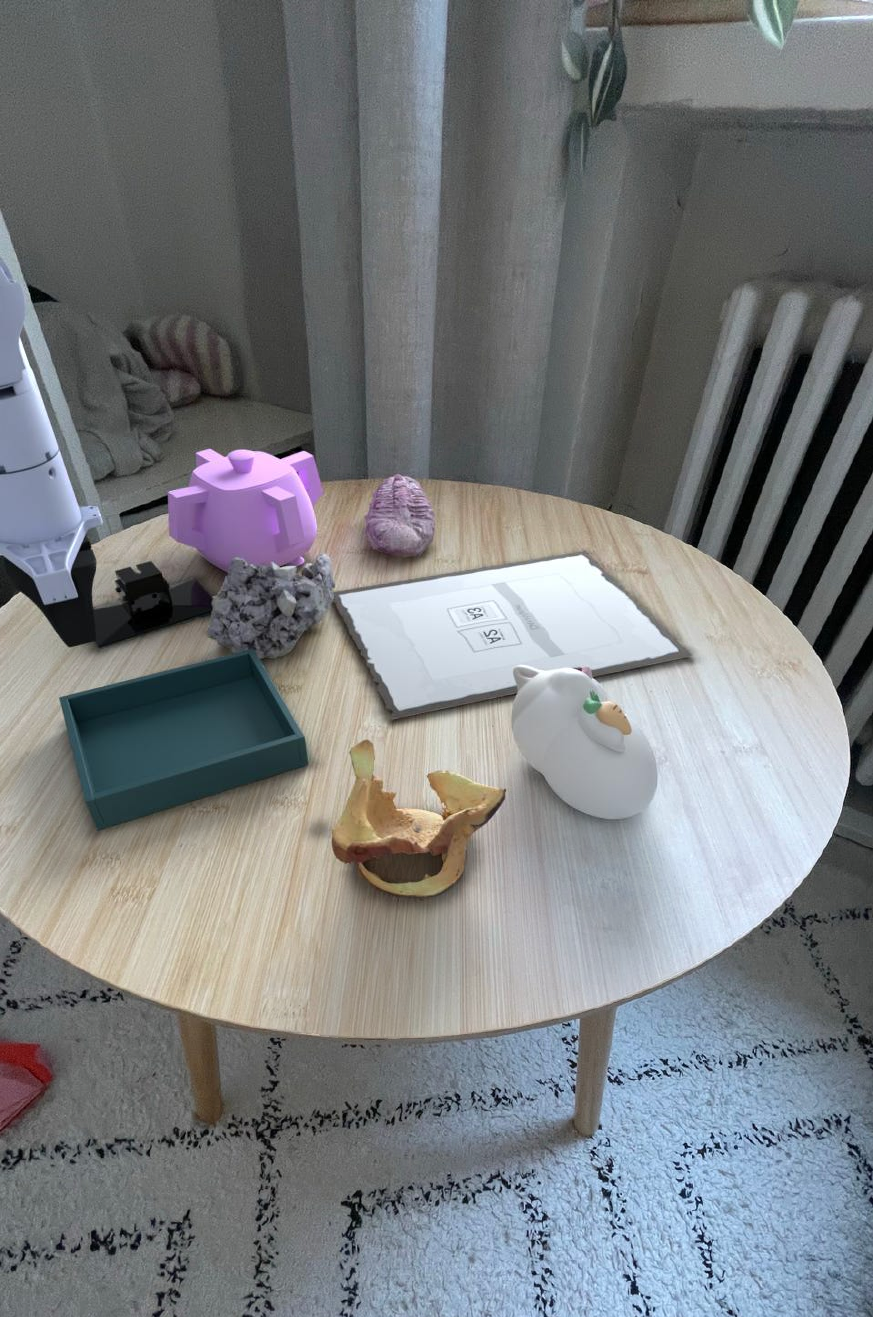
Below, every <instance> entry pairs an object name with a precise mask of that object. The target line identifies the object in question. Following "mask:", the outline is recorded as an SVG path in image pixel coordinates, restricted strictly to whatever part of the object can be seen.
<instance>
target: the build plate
mask: <svg viewBox="0 0 873 1317" xmlns="http://www.w3.org/2000/svg"><path fill="white" fill-rule="evenodd" d="M135 566H136V570H137V571H138V572H139V573H137V572H135V570H134V569H133V568H132V567H131V566H127V567H123V568H121V569H117V570H114V573H115V576H116V579H115V580H114V583H115V588H114V590H115V592H116V593H117V594H118V597H119V599H118V600H115V601H111V602H107V603H104V604H101V605H97V606H93V609H94V615H95V622H96V630H97V640H96V641H95V642H93V643H94V644H95V646H96V648H97V649H99V650H101V649H104V648H107V647H110V646H114V645H117V644H120V643H123V642H127V641H130V640H133V639H136V638H139V637H142V636H145V635H148V634H152V633H155V632H158V631H160V630H164V629H167V628H171V627H174V626H177V625H179V624H183V623H186V622H189V621H193V620H195V619H203V618H206V617H211V613H212V610H213V606H212V600H213V599H212V596H211V595H210V594H209V593H208V591H207V590H206V589H205V587H203V586H202V585H201V584H200V583H199V582H198V581H197V580H196V579H195V578H189V579H186V580H182V581H180V582H176V583H172V584H170V583H169V582H168V581H167V579H166V578H165V576H163V572H162V571H161V570H160V569H159V568H158V566H156V564H154V563H153V561H152V560H149V561H146V562H145V561H144V562H142V563H137V564H136V565H135Z"/></svg>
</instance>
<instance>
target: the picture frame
mask: <svg viewBox="0 0 873 1317" xmlns="http://www.w3.org/2000/svg"><path fill="white" fill-rule="evenodd" d="M333 592H334V598H333V600H332V602H333V604H334V605H335V608H336V610H337V611H338V613H339V616H341V618H342V619H343V623H345V625H346V629H347V630H348V634H349V636H350V637H352V641H353V642H354V643H355V645H356V647H357V650H358V651H359V652H360V653H359V656H361V657H362V658H364V660H365V662H366V663H365V666H364V667H366V668H367V669H368V670H369V671H370V675H371V676H372V677H373V678H372V682H373V683H375V684H378V686H377V689H378V694H379V696H381V699H382V700H383V702H384V705H385V707H386V710H388V711H392V714H391V715H390V717H391V720H396V719H401V718H405V717H410V716H414V715H420V714H424V713H429V712H435V711H438V710H443V709H447V708H452V707H457V706H461V705H466V704H472V703H476V702H477V703H478V702H481V701H485V700H491V699H496V698H500V697H504V696H508V695H514V694H517V693H518V690H517V685H516V682H515V679H514V675H513V670H514V668H515V667H516V666H517V665H527V666H530V667H532V668H535V669H538V670H542V671H550V670H556V669H562V668H573V667H576V666H578V667H581V668H583V667H584V666H588V667H589V668H590V669H591V672H592V678H595V677H598V676H603V675H609V674H613V673H618V672H622V671H627V670H632V669H636V668H642V667H646V666H650V665H656V664H660V663H665V662H669V661H674V660H678V659H679V660H680V659H684V658H689V657H694V655H693V654H692V653H691V652H690V651H689V650H688V649H687V648H686V647H685V646H683V645H682V644H681V643H680V642H679V641H678V640H677V638H675V636H673V635H672V634H671V632H670V631H669V630H668V629H667V628H666V627H664V625H662V624H661V623H660V622H659V621H658V620H657V619H656V618H655V617H653V615H652V614H651V613H650V612H649V611H647V609H646V608H645V607H644V606H643V605H642V604H640V603H638V600H637V599H636V598H634V597H633V595H630V594H629V591H627V590H626V589H625V588H624V587H623V586H622V585H621V584H619V582H618V581H617V580H616V579H615V578H614V577H613V576H612V575H611V574H610V573H609V572H608V571H606V570H605V569H604V567H603V566H601V564H599V562H597V561H596V559H594V558H593V557H592V556H591V555H590V554H589V552H587V551H586V550H584V551H576V552H569V553H564V554H557V555H552V556H545V557H541V558H533V559H528V560H521V561H515V562H509V563H503V564H496V565H491V566H485V567H479V568H472V569H465V570H459V571H454V572H453V571H452V572H448V573H441V574H435V575H429V576H423V577H418V578H417V577H416V578H410V579H403V580H398V581H391V582H387V583H379V584H374V585H368V586H367V585H366V586H361V587H355V588H349V589H343V590H335V591H333Z"/></svg>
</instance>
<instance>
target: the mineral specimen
mask: <svg viewBox="0 0 873 1317" xmlns="http://www.w3.org/2000/svg"><path fill="white" fill-rule="evenodd" d="M331 563H332V562H331V558H330V556H328V554H327V553H326V552H323V553H321V554H319V555H317V556H316V557H315V562H314V563H311V562H307V563H306V564H305V565H304V566H303V567H302V568H301V571H300V574H299V573H298V572H297V568H298V566H287V565H285V566H282V567H281V566H277V565H276V564H275V563H273V562H270V564H269V565H268V566H264V565H262V564H260V565H259V566H258V565H254V564H250V565H249V563H248V562H246V561H245V560H244V559H242V558H238V557H235V558H233V559H232V562H231V567H230V569H229V571H228V572H227V575H225V577H224V581H223V582H222V583H223V584H222V586H221V587H220V588H219V592H217V594H216V595H212V596H211V597H212V599H213V600H212V606H213V610H212V613H211V615H210V620H209V621H210V622H209V626H208V628H206V630H204V631H203V633H205V636H207V637H208V638H209V639H212V640H215V641H216V643H217V644H218V645H220V646H223V647H226V648H228V649H229V650H230V651H232V652H233V654H234V653H238V652H242V651H246V650H250V649H254V651H255V652H256V654H257V656H258V657H259V659H260V660H263V659H265V658H269V659H270V658H271V659H277V658H278V657H281V658H282V657H284V656H286V655H288V654H289V653H290V652H292V651H293V650H294V649H295V646H296V644H297V642H298V641H299V639H300V638H301V636H302V635H303V634H304V632H305V631H306V630H307V629H313V628H315V626H316V625H317V623H319V622H320V621H322V620H323V619H324V618H325V616H326V614H327V613H328V611H329V610H330V608H331V606H332V604H333V599H334V592H335V591H333V589H335V588H336V583H335V580H334V573H333V570H332V569H331V568H332V565H331Z"/></svg>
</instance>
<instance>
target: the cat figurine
mask: <svg viewBox="0 0 873 1317" xmlns="http://www.w3.org/2000/svg"><path fill="white" fill-rule="evenodd" d="M513 675H514V679H515V682H516V685H517V690H518V693H516V695H515V698H514V701H513V704H512V709H511V716H510V724H511V731H512V732H511V733H512V736H513V739H514V741H515V744H516V745H517V746H516V747H517V748H518V750H519V751H520V753H521V755H522V756H523V758H524V759H525V761H526V762H527V763H528V764H529V765H530V766H531V768H533V769H534V770H535V771H537V772H539V773H540V774H541V775H543V777H544V779H545V780H546V782H547V784H548V785H549V787H550V788H551V789H552V790H553V792H554V793H555V794H556V795H557V797H559V798H560V799H561V800H562V801H563V802H565V803H566V804H567V805H569V806H570V807H571V808H574V809H575V810H577V811H579V812H582V813H584V814H586V815H589V816H592V817H595V818H600V819H606V820H620V819H621V820H622V819H627V818H631V817H634V816H635V815H638V814H640V813H642V812H643V811H644V810H646V809H647V808H648V807H649V805H650V804H651V802H652V801H653V800H654V797H655V795H656V791H657V786H658V779H659V778H658V777H659V776H658V766H657V760H656V756H655V752H654V751H653V748H652V746H651V743H650V742H649V739H648V738H647V736H646V734H645V733H644V731H643V729H641V727H640V726H639V725H638V723H637V722H636V721H635V720H634V719H632V717H631V716H629V715H628V714H627V713H626V712H624V711H623V710H622V708H621V707H620V706H619V705H618V704H617V703H615V702H614V701H609V698H608V696H607V692H606V691H605V689H604V688H603V686H602V685H601V684H600V683H599V681H597V679H595V677H592V672H591V669H590V668H589V667H588V666H584V667H583V668H581V667H578V666H576V667H573V668H562V669H556V670H550V671H542V670H538V669H535V668H532V667H530V666H527V665H517V666H516V667H515V668H514V670H513Z"/></svg>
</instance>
